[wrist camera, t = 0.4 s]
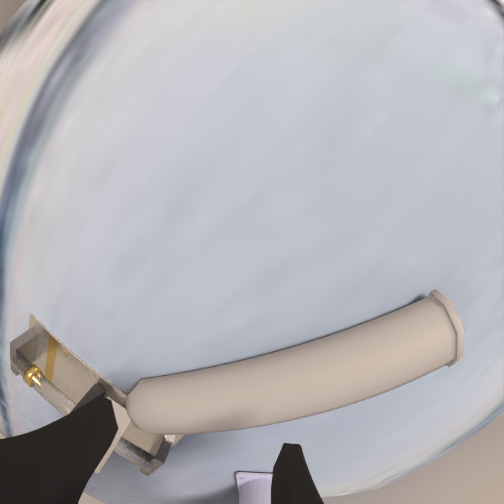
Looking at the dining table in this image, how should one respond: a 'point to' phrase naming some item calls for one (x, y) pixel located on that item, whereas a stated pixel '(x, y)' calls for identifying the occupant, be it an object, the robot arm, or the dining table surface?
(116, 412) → the sleeve
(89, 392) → the dark gray slab
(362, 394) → the tube
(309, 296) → the dining table surface
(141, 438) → the rod rig
